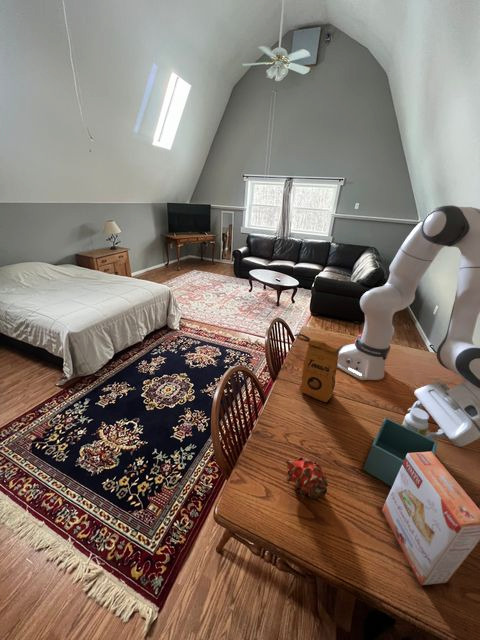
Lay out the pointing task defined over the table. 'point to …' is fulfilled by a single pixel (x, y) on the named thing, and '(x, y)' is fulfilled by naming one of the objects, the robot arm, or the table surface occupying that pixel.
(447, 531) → the cracker box
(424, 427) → the pill bottle
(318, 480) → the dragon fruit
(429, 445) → the trash bin
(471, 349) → the robot arm
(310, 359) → the coffee package
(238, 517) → the table surface
